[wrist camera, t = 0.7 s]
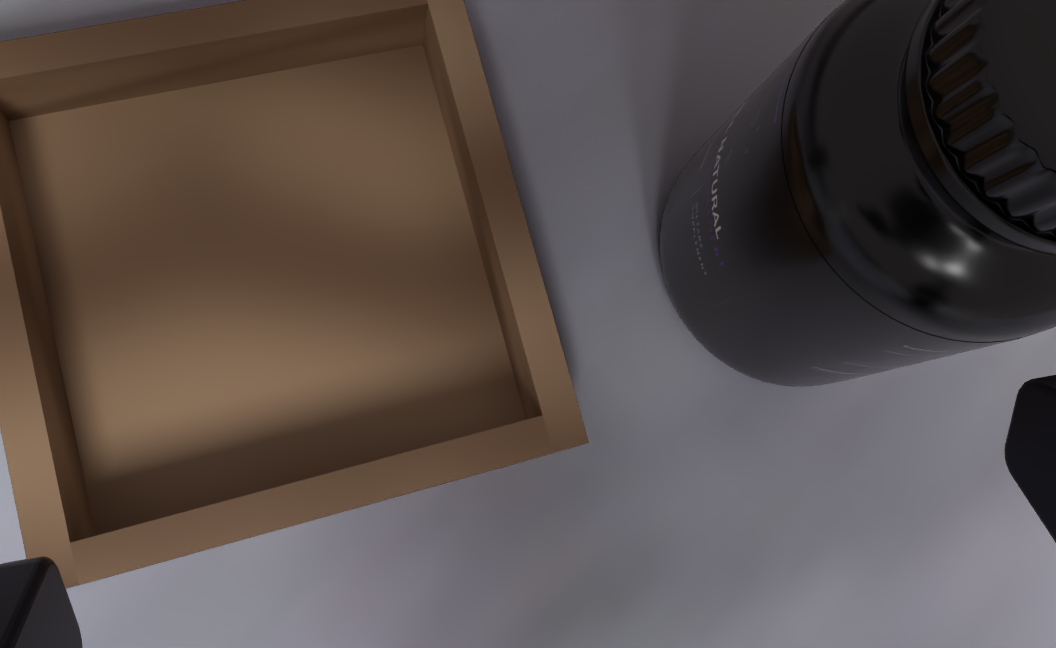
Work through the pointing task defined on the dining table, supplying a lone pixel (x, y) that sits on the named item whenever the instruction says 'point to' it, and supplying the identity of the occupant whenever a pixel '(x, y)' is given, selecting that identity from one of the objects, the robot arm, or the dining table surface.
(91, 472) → the walnut holder
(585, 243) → the dining table surface
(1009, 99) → the supplement bottle
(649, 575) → the dining table surface
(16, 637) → the robot arm
